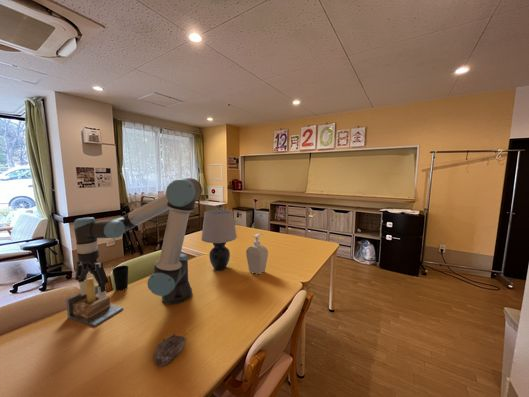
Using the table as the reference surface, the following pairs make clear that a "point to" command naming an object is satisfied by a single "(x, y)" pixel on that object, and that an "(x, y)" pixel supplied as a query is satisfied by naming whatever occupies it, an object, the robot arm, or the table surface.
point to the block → (90, 306)
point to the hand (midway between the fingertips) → (93, 296)
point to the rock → (168, 349)
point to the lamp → (219, 236)
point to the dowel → (90, 290)
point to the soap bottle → (257, 256)
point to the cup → (120, 277)
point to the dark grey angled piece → (94, 319)
